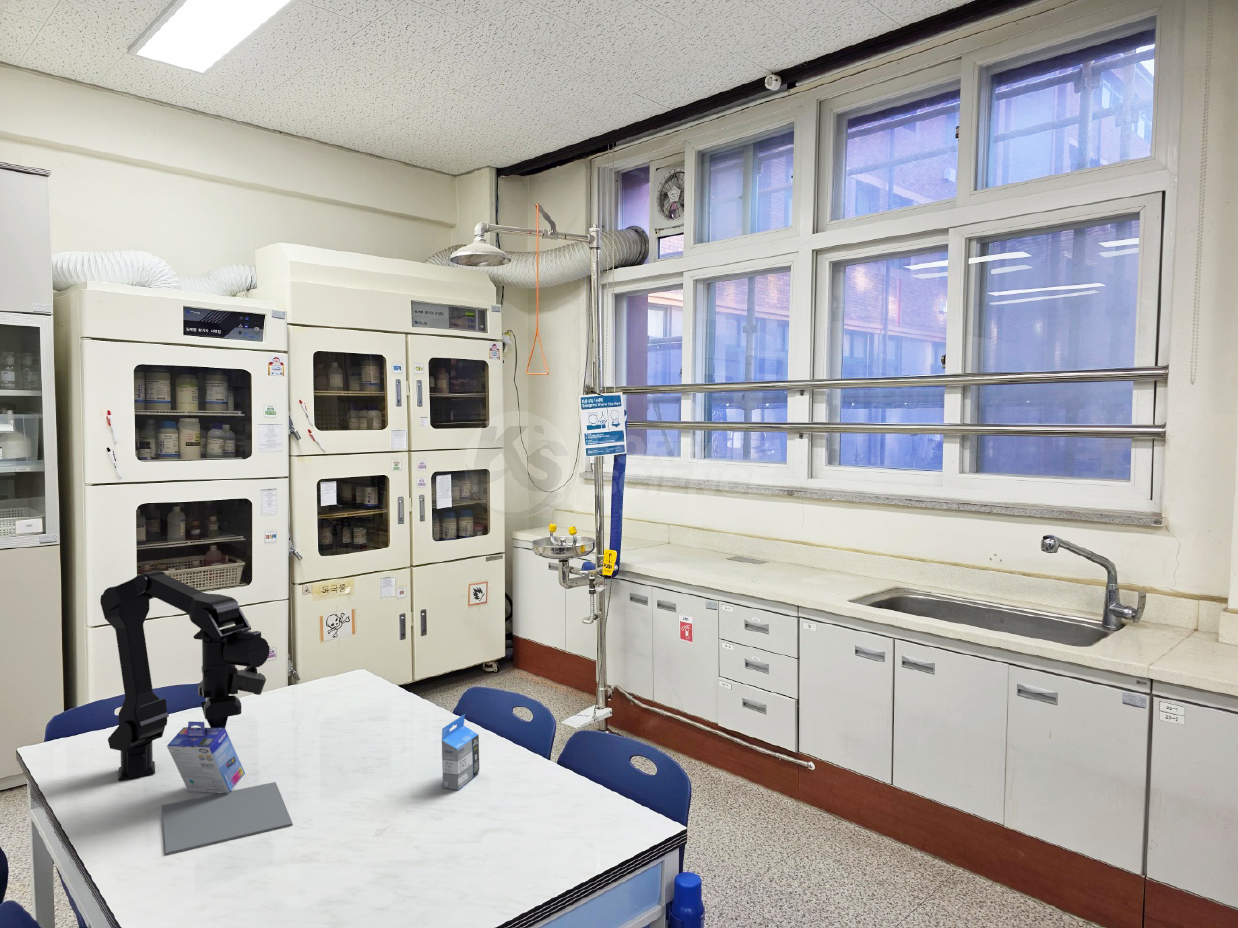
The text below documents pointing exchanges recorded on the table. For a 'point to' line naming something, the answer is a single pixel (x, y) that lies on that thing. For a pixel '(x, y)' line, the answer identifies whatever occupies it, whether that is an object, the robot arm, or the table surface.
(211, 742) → the ink cartridge box
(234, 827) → the charcoal mat
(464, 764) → the label tape box
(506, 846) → the table surface
